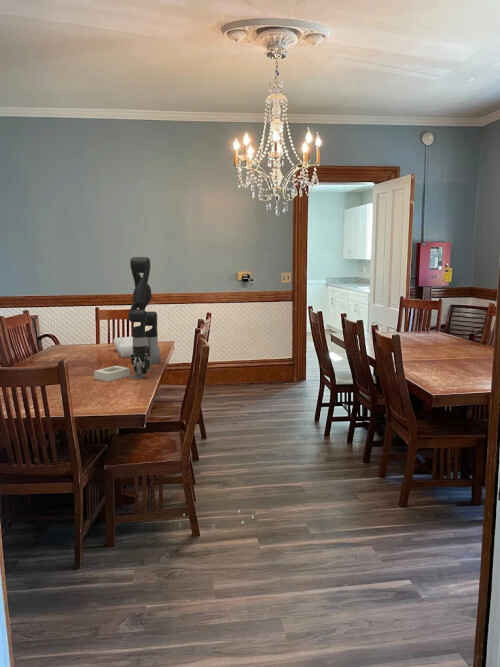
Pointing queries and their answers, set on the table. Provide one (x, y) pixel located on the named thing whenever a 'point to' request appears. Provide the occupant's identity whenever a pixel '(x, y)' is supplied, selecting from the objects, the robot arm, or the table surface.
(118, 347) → the wavy white extrusion
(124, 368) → the well block
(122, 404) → the table surface
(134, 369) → the coffee can
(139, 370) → the grey rectangular block
